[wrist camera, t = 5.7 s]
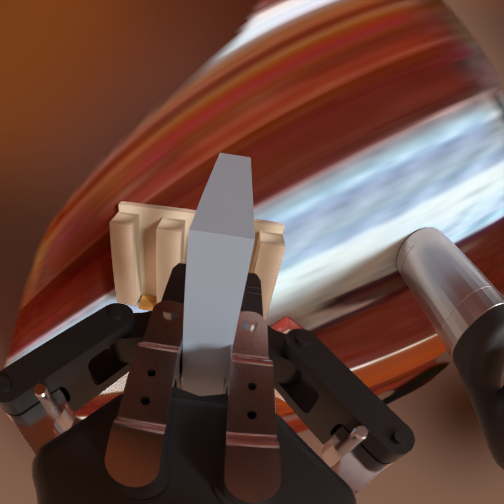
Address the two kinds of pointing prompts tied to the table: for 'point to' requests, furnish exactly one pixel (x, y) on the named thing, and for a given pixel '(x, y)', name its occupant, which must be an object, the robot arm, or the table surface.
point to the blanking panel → (216, 274)
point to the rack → (175, 251)
